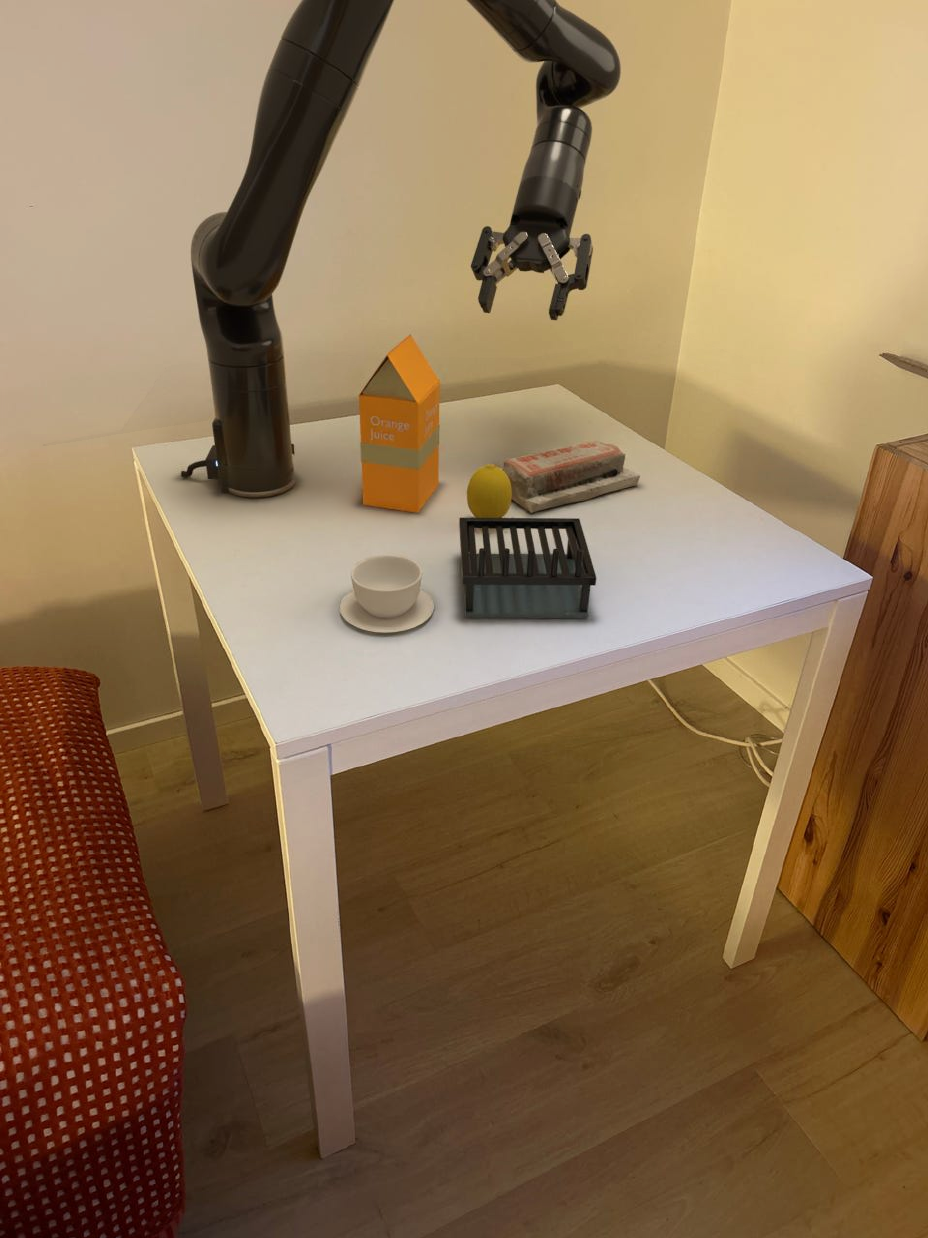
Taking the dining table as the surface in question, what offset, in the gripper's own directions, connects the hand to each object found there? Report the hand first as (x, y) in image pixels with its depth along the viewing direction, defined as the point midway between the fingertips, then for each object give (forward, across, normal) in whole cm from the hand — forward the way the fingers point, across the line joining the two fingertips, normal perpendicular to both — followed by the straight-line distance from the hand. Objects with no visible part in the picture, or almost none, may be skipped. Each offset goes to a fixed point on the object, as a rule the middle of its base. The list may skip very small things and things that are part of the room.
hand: (518, 313), depth 112 cm
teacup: (+40, -3, -9) cm, 41 cm away
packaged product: (+15, +6, +18) cm, 25 cm away
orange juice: (+22, -13, +10) cm, 27 cm away
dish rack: (+33, +9, -2) cm, 34 cm away
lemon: (+24, 0, +8) cm, 26 cm away
